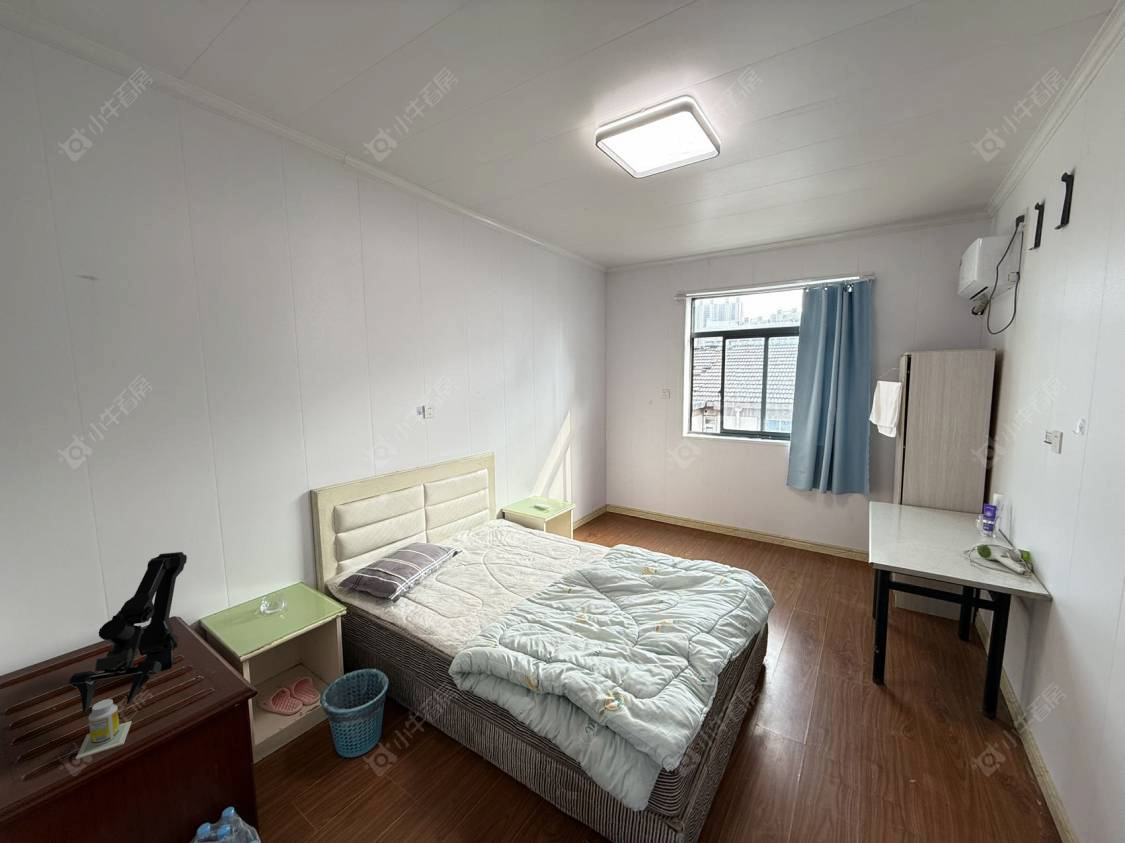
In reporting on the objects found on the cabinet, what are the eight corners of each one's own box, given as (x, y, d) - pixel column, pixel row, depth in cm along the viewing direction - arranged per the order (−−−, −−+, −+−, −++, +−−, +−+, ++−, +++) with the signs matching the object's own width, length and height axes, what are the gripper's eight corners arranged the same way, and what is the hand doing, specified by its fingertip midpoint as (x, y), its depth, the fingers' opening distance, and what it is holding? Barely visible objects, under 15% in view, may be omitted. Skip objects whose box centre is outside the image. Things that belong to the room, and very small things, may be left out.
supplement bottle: (113, 726, 125) (110, 694, 124) (124, 733, 123) (121, 700, 121) (86, 741, 120) (83, 707, 118) (96, 749, 117) (93, 714, 116)
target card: (131, 722, 127) (131, 720, 127) (123, 744, 120) (123, 742, 120) (87, 735, 122) (87, 734, 122) (75, 759, 115) (75, 758, 115)
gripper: (68, 648, 121) (44, 713, 112) (154, 635, 128) (137, 695, 119) (88, 656, 129) (67, 718, 120) (168, 643, 136) (153, 701, 127)
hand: (106, 707), depth 122 cm, fingers open, 9 cm apart
